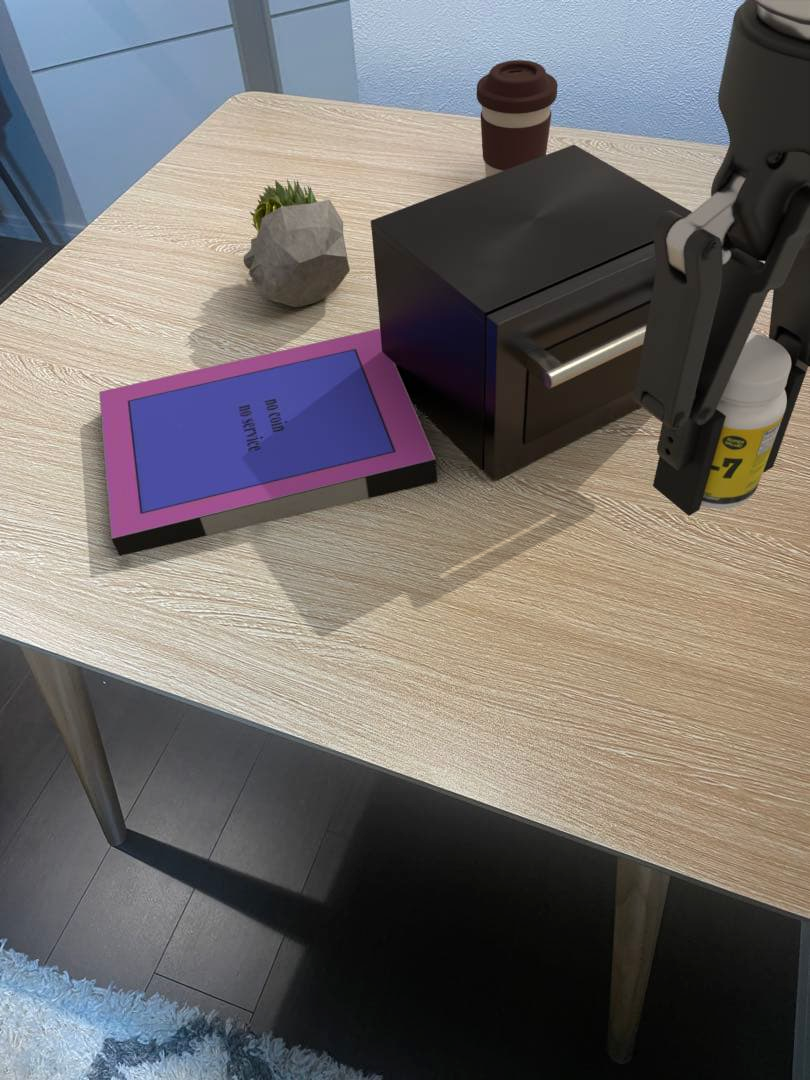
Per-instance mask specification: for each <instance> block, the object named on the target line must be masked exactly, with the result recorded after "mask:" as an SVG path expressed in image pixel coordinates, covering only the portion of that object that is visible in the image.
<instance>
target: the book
mask: <svg viewBox="0 0 810 1080" xmlns="http://www.w3.org/2000/svg"><path fill="white" fill-rule="evenodd" d="M98 393H99V406H100V417H101V431H102V442H103V454H104V467H105V479H106V489H107V490H106V492H107V503H108V504H107V505H108V516H109V530H110V539H111V541H112V543H113V545H114V548H115V549H116V552H117V554H118V556H119V557H122V556H126V555H131V554H134V553H140V552H143V551H147V550H151V549H156V548H161V547H165V546H169V545H174V544H178V543H181V542H187V541H191V540H196V539H199V538H204V537H208V536H213V535H217V534H220V533H221V534H222V533H224V532H225V533H226V532H230V531H234V530H238V529H239V530H240V529H243V528H247V527H250V526H255V525H256V526H257V525H261V524H264V523H268V522H273V521H277V520H282V519H286V518H290V517H294V516H298V515H302V514H307V513H312V512H316V511H320V510H325V509H328V508H333V507H338V506H341V505H347V504H350V503H355V502H360V501H363V500H367V499H372V498H376V497H381V496H385V495H390V494H393V493H398V492H400V491H405V490H406V491H407V490H410V489H413V488H418V487H421V486H426V485H430V484H434V483H437V482H438V472H437V459H436V456H435V454H434V451H433V450H432V447H431V444H430V442H429V440H428V438H427V435H426V433H425V430H424V429H423V426H422V423H421V421H420V418H419V416H418V414H417V412H416V409H415V406H414V404H413V403H412V402H411V400H410V398H409V395H408V393H407V391H406V388H405V386H404V384H403V381H402V379H401V377H400V374H399V372H398V370H397V367H396V365H395V363H394V362H393V361H392V360H391V359H390V358H389V357H387V356H386V355H385V354H384V353H383V352H382V345H381V334H380V327H379V328H375V329H371V330H366V331H363V332H359V333H358V332H357V333H353V334H348V335H345V336H344V335H343V336H340V337H336V338H331V339H327V340H322V341H317V342H313V343H309V344H304V345H300V346H296V347H292V348H287V349H283V350H278V351H275V352H269V353H264V354H260V355H256V356H252V357H251V356H250V357H247V358H243V359H238V360H233V361H229V362H225V363H221V364H220V363H219V364H216V365H212V366H207V367H203V368H198V369H194V370H189V371H185V372H180V373H176V374H172V375H167V376H163V377H158V378H154V379H150V380H144V381H140V382H136V383H131V384H127V385H123V386H119V387H113V388H110V389H105V390H100V391H98Z"/></svg>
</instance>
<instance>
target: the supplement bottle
mask: <svg viewBox="0 0 810 1080" xmlns="http://www.w3.org/2000/svg"><path fill="white" fill-rule="evenodd" d="M790 369H791V358H790V355H789V353H788V352H787V350H786V349H785V348H784V347H783V346H782V345H780V344H779V343H778V342H776V341H774V340H773V339H771V338H769V336H765V335H763V334H759V333H754V332H750V334H749V337H748V339H747V341H746V343H745V346H744V348H743V350H742V352H741V354H740V357H739V359H738V361H737V363H736V366H735V368H734V370H733V372H732V375H731V377H730V379H729V381H728V384H727V386H726V388H725V390H724V393H723V395H722V397H721V399H720V401H719V404H718V406H717V408H716V409H717V410H718V411H720V412H721V413H723V414H724V415H725V416H726V418H725V421H724V425H723V428H722V432H721V435H720V439H719V442H718V446H717V450H716V453H715V457H714V460H713V464H712V467H711V471H710V474H709V478H708V481H707V485H706V488H705V492H704V496H703V499H702V503H701V506H700V507H703V508H707V509H713V510H726V509H733V508H735V507H738V506H741V505H743V504H745V503H746V502H748V501H749V500H750V499H751V498H753V496H754V495H755V493H756V491H757V489H758V487H759V483H760V482H761V478H762V476H763V474H764V473H763V471H764V468H765V465H766V462H767V460H768V457H769V454H770V451H771V449H772V446H773V443H774V440H775V438H776V435H777V432H778V429H779V426H780V424H781V421H782V418H783V415H784V412H785V409H786V404H787V396H786V392H785V389H784V388H785V386H786V384H787V379H788V376H789V372H790Z"/></svg>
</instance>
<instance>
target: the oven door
mask: <svg viewBox="0 0 810 1080" xmlns="http://www.w3.org/2000/svg"><path fill="white" fill-rule="evenodd" d="M656 270H657V260H656V254H655V247H654V243H652V244H650V245H648V246H646V247H643V248H641V249H639V250H636V251H634V252H632V253H629V254H627V255H625V256H623V257H620V258H618V259H616V260H613V261H611V262H609V263H606V264H604V265H602V266H599V267H597V268H595V269H593V270H590V271H588V272H586V273H583V274H581V275H579V276H576V277H574V278H572V279H570V280H567V281H565V282H563V283H560V284H558V285H556V286H553V287H551V288H549V289H547V290H544V291H542V292H540V293H537V294H535V295H533V296H530V297H528V298H526V299H523V300H521V301H519V302H517V303H514V304H512V305H510V306H507V307H505V308H503V309H500V310H498V311H496V312H494V313H491V314H489V315H487V316H486V376H485V443H484V471H483V472H484V474H485V475H486V476H487V477H489V479H490V480H491V481H492V482H495V481H498V480H500V479H502V478H503V477H505V476H507V475H509V474H511V473H513V472H515V471H517V470H520V469H521V468H523V467H525V466H527V465H529V464H531V463H533V462H535V461H537V460H540V459H541V458H543V457H546V456H548V455H549V454H551V453H552V452H554V451H557V450H559V449H560V448H562V447H564V446H566V445H569V444H570V443H573V442H574V441H576V440H579V439H580V438H583V437H584V436H587V435H588V434H590V433H592V432H594V431H596V430H598V429H600V428H602V427H604V426H606V425H608V424H610V423H612V422H614V421H616V420H618V419H620V418H622V417H623V416H625V415H627V414H629V413H631V412H634V411H635V410H638V409H639V408H642V407H641V406H640V405H639V404H638V403H636V402H635V401H634V392H635V386H636V381H637V375H638V370H639V364H640V359H641V353H642V347H643V342H644V336H645V331H646V325H647V320H648V314H649V308H650V303H651V297H652V292H653V286H654V281H655V275H656Z"/></svg>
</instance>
